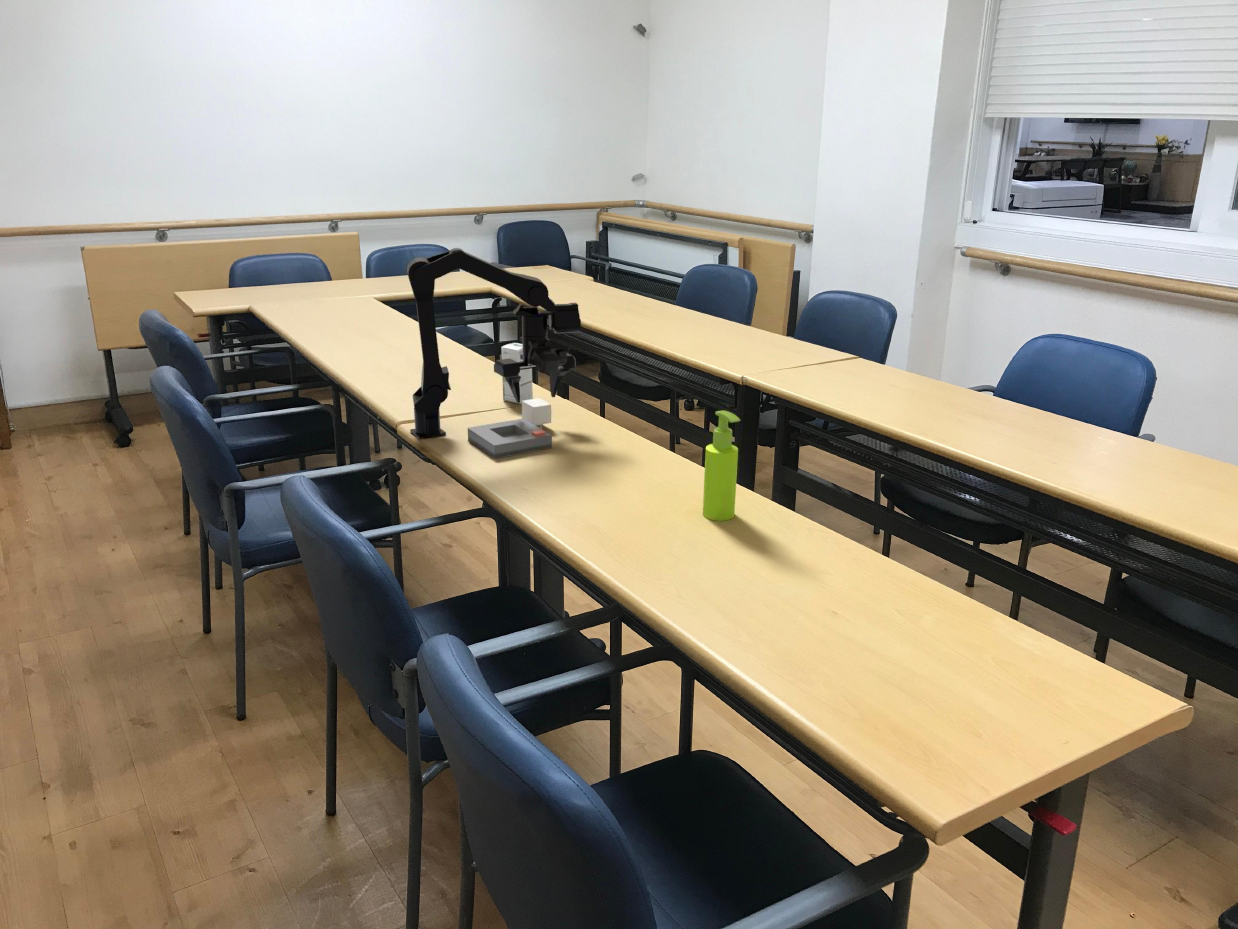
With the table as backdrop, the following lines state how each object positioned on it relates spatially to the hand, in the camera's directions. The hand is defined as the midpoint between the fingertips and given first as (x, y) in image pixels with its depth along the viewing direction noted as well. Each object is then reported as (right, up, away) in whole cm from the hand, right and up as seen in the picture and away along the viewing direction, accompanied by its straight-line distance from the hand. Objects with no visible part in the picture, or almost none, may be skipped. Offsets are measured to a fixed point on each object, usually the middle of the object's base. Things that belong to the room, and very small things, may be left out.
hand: (535, 399), depth 223 cm
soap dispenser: (+38, -25, -46) cm, 65 cm away
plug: (0, -6, +2) cm, 7 cm away
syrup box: (-7, +1, +23) cm, 24 cm away
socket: (-5, -11, -9) cm, 15 cm away
